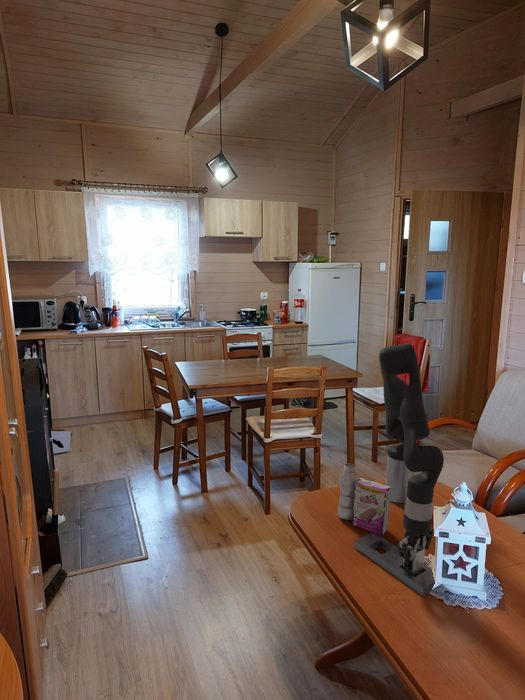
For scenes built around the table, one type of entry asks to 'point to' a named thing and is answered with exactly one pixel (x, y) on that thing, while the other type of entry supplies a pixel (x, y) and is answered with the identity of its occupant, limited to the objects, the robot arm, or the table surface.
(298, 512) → the table surface
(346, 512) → the plastic bottle
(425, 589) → the grey board with holes
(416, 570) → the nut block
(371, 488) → the candy bar box
